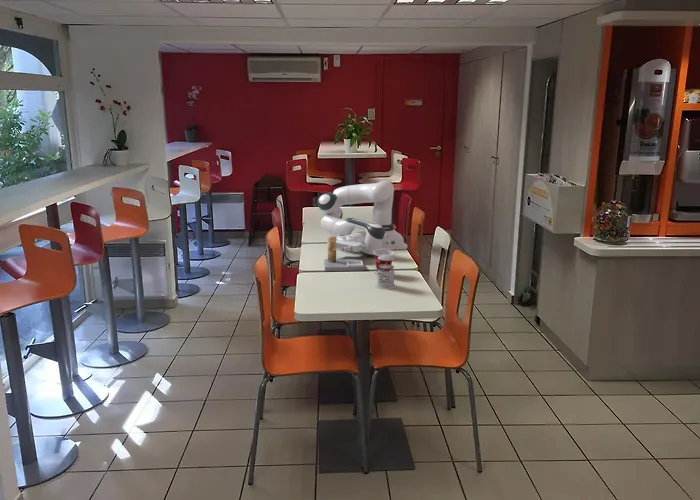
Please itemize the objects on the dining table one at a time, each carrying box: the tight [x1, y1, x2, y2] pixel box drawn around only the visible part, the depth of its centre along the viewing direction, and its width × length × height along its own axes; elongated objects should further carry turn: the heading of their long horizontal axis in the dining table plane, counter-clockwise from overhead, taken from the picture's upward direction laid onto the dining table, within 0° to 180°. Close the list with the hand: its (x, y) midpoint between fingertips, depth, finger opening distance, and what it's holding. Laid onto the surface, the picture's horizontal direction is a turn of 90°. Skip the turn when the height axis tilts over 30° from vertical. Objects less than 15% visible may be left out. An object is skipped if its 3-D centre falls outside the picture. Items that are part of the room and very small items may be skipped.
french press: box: [372, 234, 397, 290], centre depth 270 cm, size 10×12×25 cm
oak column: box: [327, 235, 337, 263], centre depth 307 cm, size 4×4×13 cm
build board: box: [323, 258, 365, 272], centre depth 305 cm, size 20×16×3 cm
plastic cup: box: [373, 249, 396, 277], centre depth 289 cm, size 11×11×12 cm
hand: (336, 248), depth 311 cm, fingers open, 8 cm apart
